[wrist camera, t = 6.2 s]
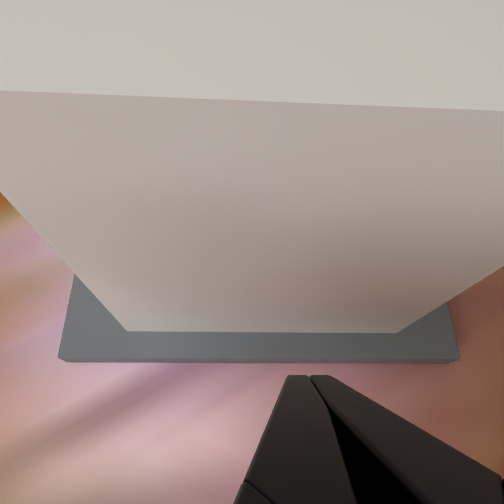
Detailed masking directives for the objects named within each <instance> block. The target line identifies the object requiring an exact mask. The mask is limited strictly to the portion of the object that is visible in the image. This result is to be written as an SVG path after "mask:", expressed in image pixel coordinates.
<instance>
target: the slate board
mask: <svg viewBox="0 0 504 504" xmlns="http://www.w3.org/2000/svg"><path fill="white" fill-rule="evenodd" d="M58 358H60V359H62V360H64V361H66V362H172V363H450V362H453V361H456V360H459V359H460V354H459V350H458V346H457V342H456V337H455V333H454V329H453V325H452V320H451V316H450V312H449V308H448V303H447V302H445V303H444V304H442V305H441V306H439V307H437V308H436V309H434V310H433V311H431V312H429V313H428V314H426V315H425V316H423V317H421V318H420V319H418V320H417V321H415V322H413V323H412V324H410V325H409V326H407V327H405V328H404V329H402V330H401V331H399V332H397V333H295V332H153V331H127V330H126V329H125V328H124V327H123V326H122V325H121V324H120V323H119V322H118V321H117V319H116V318H115V317H114V316H113V315H112V314H111V313H110V312H109V311H108V310H107V308H106V307H105V306H104V305H103V304H102V303H101V302H100V301H99V300H98V299H97V298H96V296H95V295H94V294H93V293H92V292H91V291H90V290H89V289H88V288H87V287H86V285H85V284H84V283H83V282H82V281H81V280H80V279H79V278H78V277H77V276H76V274H75V275H74V280H73V285H72V290H71V295H70V300H69V304H68V309H67V314H66V319H65V324H64V329H63V334H62V339H61V344H60V348H59V353H58Z"/></svg>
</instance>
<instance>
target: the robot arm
mask: <svg viewBox="0 0 504 504" xmlns="http://www.w3.org/2000/svg"><path fill="white" fill-rule="evenodd" d="M233 504H504V479H503V480H502V478H501V476H500V475H499V474H497V473H495V472H494V471H492V470H490V469H488V468H487V467H485V466H483V465H482V464H480V463H478V462H477V461H475V460H473V459H471V458H470V457H468V456H466V455H465V454H463V453H461V452H460V451H458V450H456V449H454V448H453V447H451V446H449V445H448V444H446V443H444V442H442V441H441V440H439V439H437V438H436V437H434V436H432V435H431V434H429V433H427V432H425V431H424V430H422V429H420V428H419V427H417V426H415V425H414V424H412V423H410V422H408V421H407V420H405V419H403V418H402V417H400V416H398V415H396V414H395V413H393V412H391V411H390V410H388V409H386V408H385V407H383V406H381V405H379V404H378V403H376V402H374V401H373V400H371V399H369V398H368V397H366V396H364V395H362V394H361V393H359V392H357V391H356V390H354V389H352V388H350V387H349V386H347V385H345V384H344V383H342V382H340V381H339V380H337V379H335V378H333V377H332V376H329V375H311V376H310V377H308V376H307V375H288V376H287V378H286V380H285V382H284V385H283V387H282V389H281V392H280V394H279V397H278V399H277V401H276V404H275V406H274V409H273V411H272V413H271V416H270V418H269V421H268V423H267V425H266V428H265V430H264V433H263V435H262V437H261V440H260V442H259V445H258V447H257V449H256V452H255V454H254V457H253V459H252V461H251V464H250V466H249V469H248V471H247V473H246V476H245V478H244V481H243V483H242V484H241V486H240V489H239V491H238V493H237V496H236V498H235V501H234V503H233Z"/></svg>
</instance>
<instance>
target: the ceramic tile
mask: <svg viewBox="0 0 504 504" xmlns="http://www.w3.org/2000/svg"><path fill="white" fill-rule="evenodd" d="M0 192H1V193H2V194H3V195H4V197H5V198H6V199H7V200H8V201H9V202H10V203H11V204H12V205H13V206H14V208H15V209H16V210H17V211H18V212H19V213H20V214H21V215H22V216H23V217H24V219H25V220H26V221H27V222H28V223H29V224H30V225H31V226H32V227H33V228H34V229H35V231H36V232H37V233H38V234H39V235H40V236H41V237H42V238H43V239H44V240H45V242H46V243H47V244H48V245H49V246H50V247H51V248H52V249H53V250H54V251H55V253H56V254H57V255H58V256H59V257H60V258H61V259H62V260H63V261H64V262H65V264H66V265H67V266H68V267H69V268H70V269H71V270H72V271H73V272H74V273H75V274H76V276H77V277H78V278H79V279H80V280H81V281H82V282H83V283H84V284H85V285H86V287H87V288H88V289H89V290H90V291H91V292H92V293H93V294H94V295H95V296H96V298H97V299H98V300H99V301H100V302H101V303H102V304H103V305H104V306H105V307H106V308H107V310H108V311H109V312H110V313H111V314H112V315H113V316H114V317H115V318H116V319H117V321H118V322H119V323H120V324H121V325H122V326H123V327H124V328H125V329H126V330H127V331H153V332H295V333H397V332H399V331H401V330H402V329H404V328H405V327H407V326H409V325H410V324H412V323H413V322H415V321H417V320H418V319H420V318H421V317H423V316H425V315H426V314H428V313H429V312H431V311H433V310H434V309H436V308H437V307H439V306H441V305H442V304H444V303H445V302H447V301H449V300H450V299H452V298H453V297H455V296H457V295H458V294H460V293H461V292H463V291H465V290H466V289H468V288H469V287H471V286H473V285H474V284H476V283H477V282H479V281H481V280H482V279H484V278H485V277H487V276H488V275H490V274H492V273H493V272H495V271H496V270H498V269H500V268H501V267H503V266H504V0H0Z"/></svg>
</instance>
